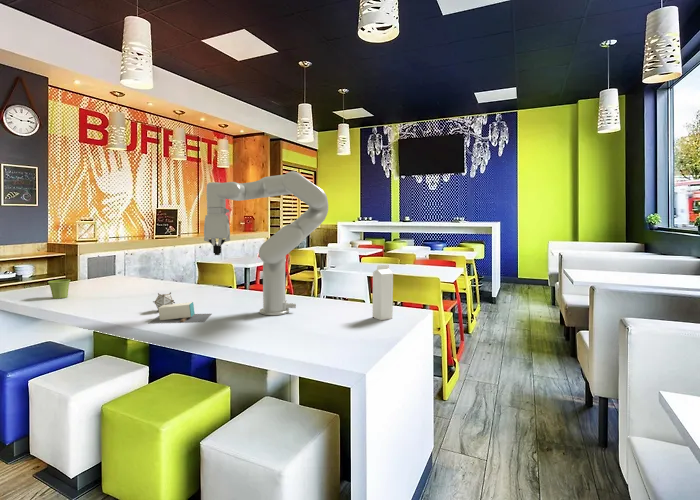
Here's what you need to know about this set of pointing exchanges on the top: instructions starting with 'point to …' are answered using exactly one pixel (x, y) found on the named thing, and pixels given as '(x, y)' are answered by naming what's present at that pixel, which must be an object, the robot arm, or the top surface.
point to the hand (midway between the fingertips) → (217, 254)
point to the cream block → (176, 311)
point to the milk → (382, 293)
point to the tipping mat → (183, 319)
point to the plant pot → (59, 288)
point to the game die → (163, 300)
